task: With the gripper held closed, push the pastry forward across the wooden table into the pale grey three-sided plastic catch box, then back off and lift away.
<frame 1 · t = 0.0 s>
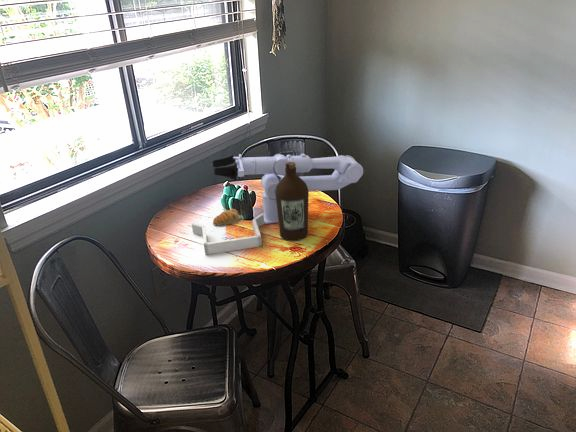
hand: (213, 167, 155), 22 cm above the table, tool horizontal, fingers open, 7 cm apart
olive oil: (293, 235, 156), on the table
pastry: (227, 222, 167), on the table
catch box: (231, 240, 154), on the table
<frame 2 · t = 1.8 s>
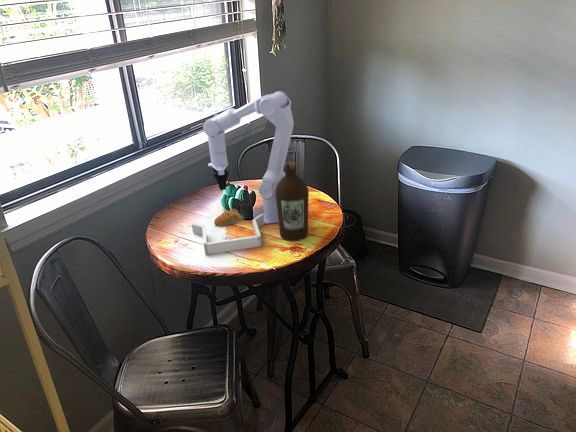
hand: (222, 186, 171), 9 cm above the table, tool pointing down, fingers open, 5 cm apart
nothing on the table moved.
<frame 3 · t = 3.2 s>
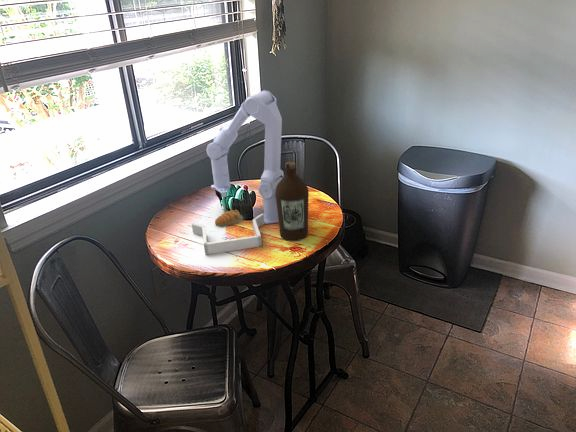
hand: (224, 207, 175), 1 cm above the table, tool pointing down, fingers closed
nothing on the table moved.
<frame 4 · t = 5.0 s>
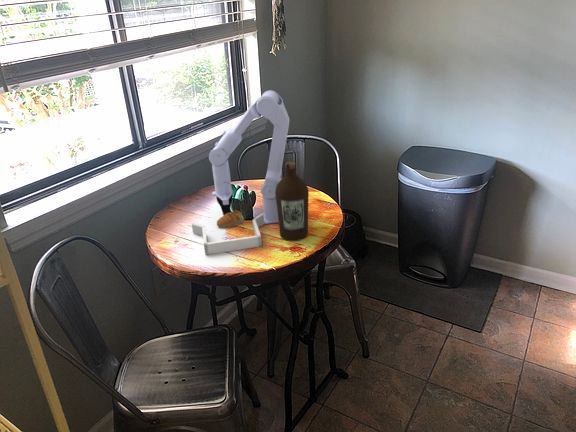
hand: (226, 214, 169), 1 cm above the table, tool pointing down, fingers closed
pastry: (231, 223, 166), on the table, touching gripper
everything else where it was.
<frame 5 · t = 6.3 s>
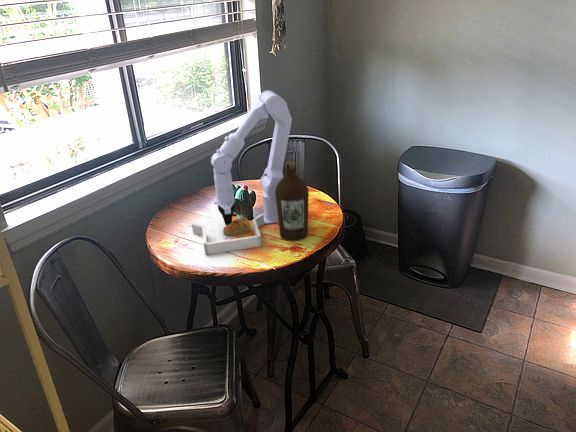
hand: (228, 224, 163), 1 cm above the table, tool pointing down, fingers closed
pastry: (238, 231, 161), on the table
everything else where it was.
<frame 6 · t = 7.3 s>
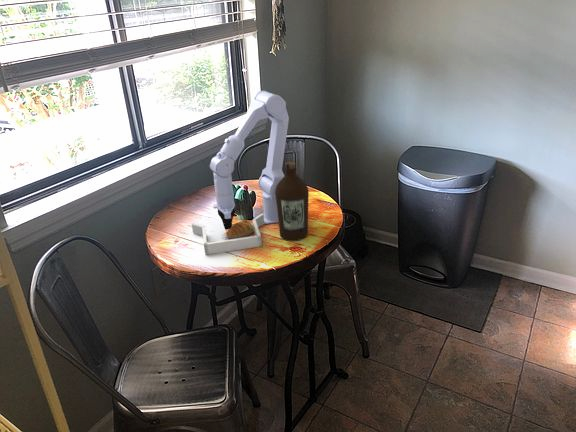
hand: (228, 228, 159), 1 cm above the table, tool pointing down, fingers closed, pressing on pastry
pastry: (241, 234, 158), on the table, touching catch box, gripper
everything else where it was.
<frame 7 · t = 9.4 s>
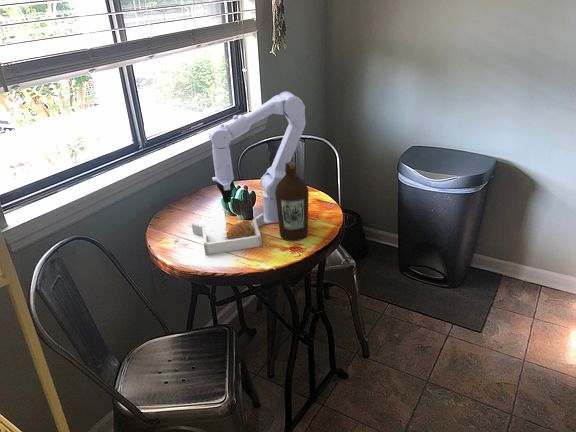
hand: (227, 201, 159), 9 cm above the table, tool pointing down, fingers closed
pastry: (241, 234, 158), on the table
everything else where it was.
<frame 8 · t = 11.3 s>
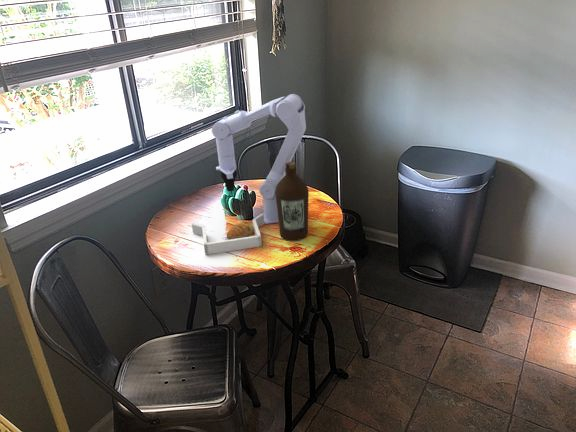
hand: (230, 190, 168), 9 cm above the table, tool pointing down, fingers closed
nothing on the table moved.
at the end: pastry inside the target area (5.7 cm from its centre), on the table; pastry tilted 0°; the gripper is holding nothing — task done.
